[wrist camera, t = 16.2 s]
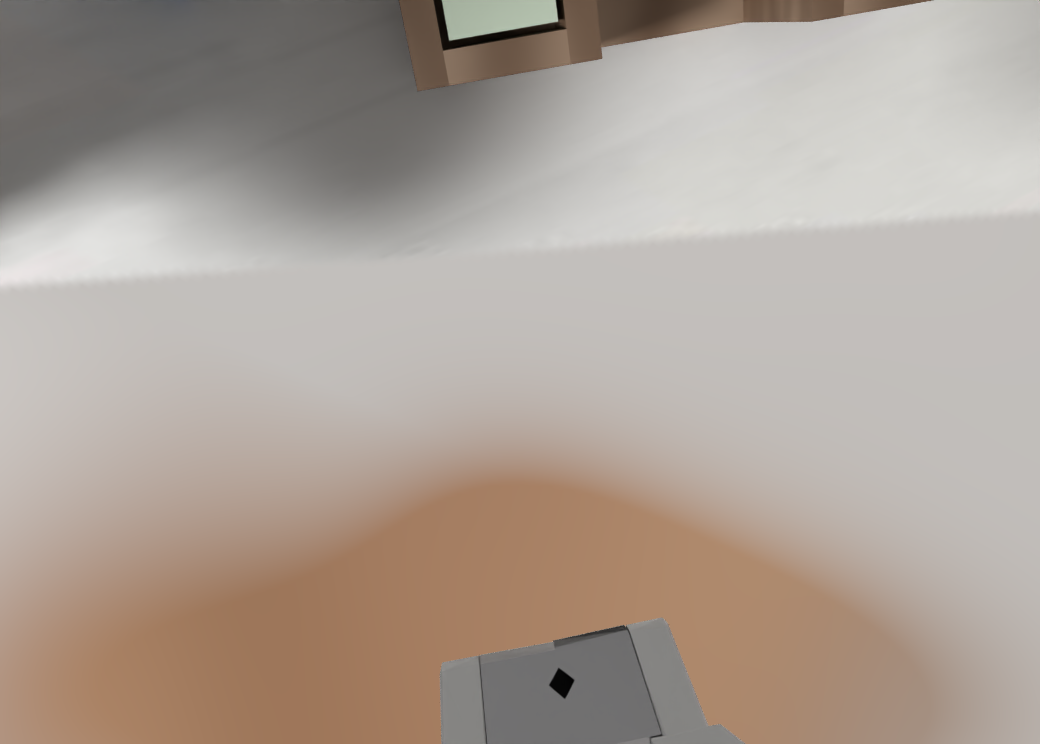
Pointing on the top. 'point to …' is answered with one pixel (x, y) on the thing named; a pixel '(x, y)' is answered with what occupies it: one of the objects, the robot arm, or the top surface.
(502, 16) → the sage button
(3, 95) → the top surface
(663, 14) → the button console
